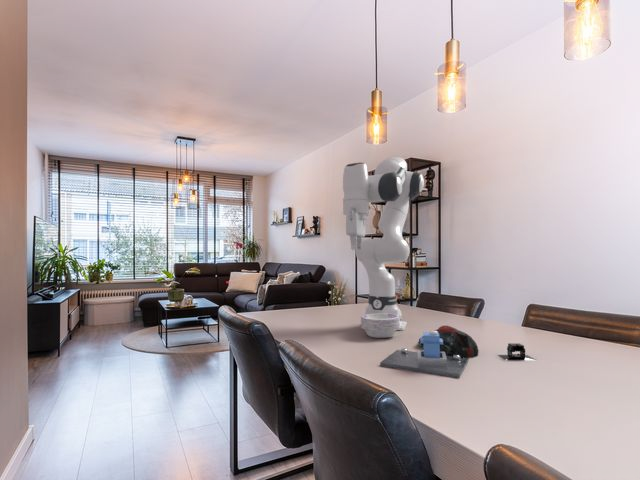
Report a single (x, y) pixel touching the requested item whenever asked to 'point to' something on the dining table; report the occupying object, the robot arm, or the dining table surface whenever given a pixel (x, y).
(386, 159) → the robot arm
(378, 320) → the paper bowls
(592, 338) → the dining table surface
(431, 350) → the block
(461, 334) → the drone shell
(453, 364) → the plate
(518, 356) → the black block with base
